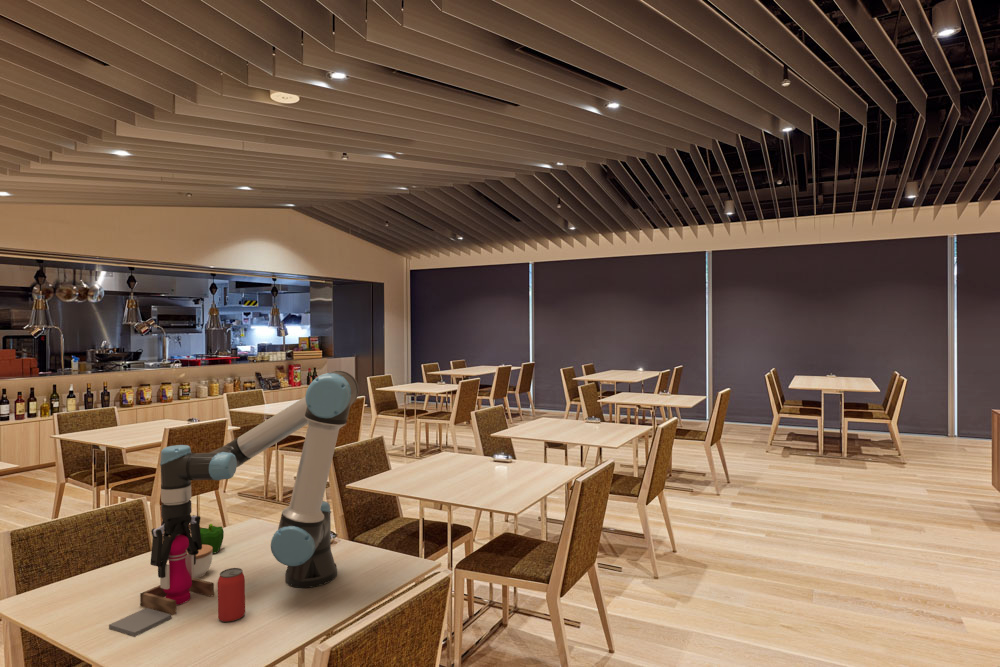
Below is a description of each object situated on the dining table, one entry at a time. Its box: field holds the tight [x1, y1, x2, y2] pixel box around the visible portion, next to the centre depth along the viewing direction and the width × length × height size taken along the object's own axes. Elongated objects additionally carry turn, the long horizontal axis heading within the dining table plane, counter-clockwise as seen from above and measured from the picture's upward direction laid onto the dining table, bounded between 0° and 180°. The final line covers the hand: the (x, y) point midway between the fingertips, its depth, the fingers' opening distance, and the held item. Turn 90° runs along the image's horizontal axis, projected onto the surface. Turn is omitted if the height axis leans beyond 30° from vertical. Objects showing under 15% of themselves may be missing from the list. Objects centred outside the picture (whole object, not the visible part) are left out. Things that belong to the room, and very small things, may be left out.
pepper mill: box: [163, 534, 192, 606], centre depth 169 cm, size 7×7×20 cm
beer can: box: [217, 567, 246, 623], centre depth 159 cm, size 7×7×12 cm
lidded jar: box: [186, 544, 213, 579], centre depth 186 cm, size 11×11×9 cm
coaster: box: [108, 607, 173, 637], centre depth 156 cm, size 10×10×1 cm
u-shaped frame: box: [139, 578, 215, 616], centre depth 169 cm, size 13×13×4 cm
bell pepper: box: [200, 523, 225, 554], centre depth 206 cm, size 8×8×10 cm
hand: (177, 582), depth 169 cm, fingers closed on pepper mill, 7 cm apart
